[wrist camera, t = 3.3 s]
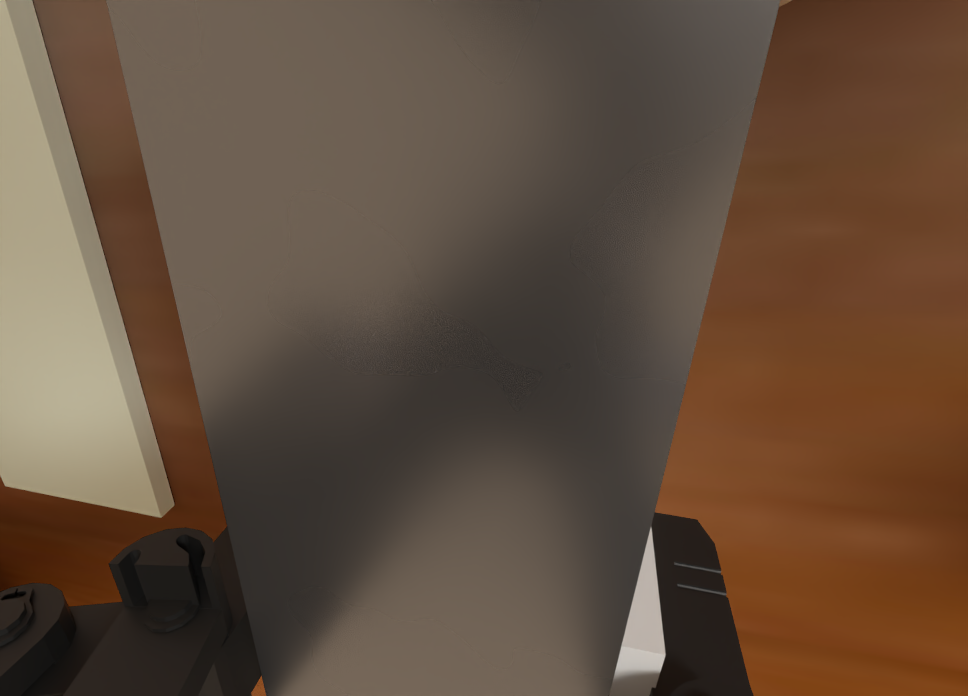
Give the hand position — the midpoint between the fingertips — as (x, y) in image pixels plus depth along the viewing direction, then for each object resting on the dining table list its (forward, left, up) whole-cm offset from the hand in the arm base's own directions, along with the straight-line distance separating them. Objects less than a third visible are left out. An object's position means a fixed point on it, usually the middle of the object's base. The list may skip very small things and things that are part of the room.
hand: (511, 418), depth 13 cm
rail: (0, 0, +2) cm, 2 cm away
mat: (0, -24, -8) cm, 25 cm away
